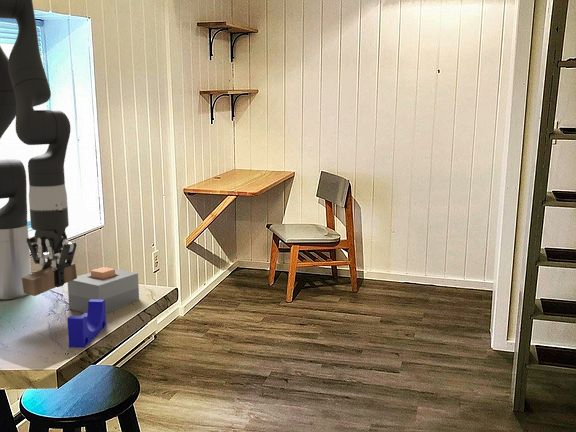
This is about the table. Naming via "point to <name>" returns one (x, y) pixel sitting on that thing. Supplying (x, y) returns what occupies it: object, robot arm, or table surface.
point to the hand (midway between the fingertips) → (53, 284)
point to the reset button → (103, 273)
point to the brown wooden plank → (45, 280)
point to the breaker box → (103, 290)
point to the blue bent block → (87, 324)
